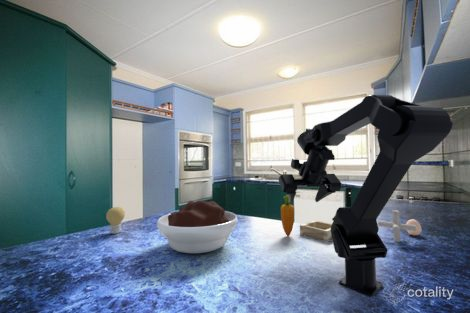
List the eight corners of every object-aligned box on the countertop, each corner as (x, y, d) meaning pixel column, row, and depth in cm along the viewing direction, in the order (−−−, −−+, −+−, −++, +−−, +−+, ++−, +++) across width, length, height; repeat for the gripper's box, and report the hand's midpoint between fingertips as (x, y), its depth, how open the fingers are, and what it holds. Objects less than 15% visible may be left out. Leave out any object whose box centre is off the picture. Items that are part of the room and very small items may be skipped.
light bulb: (119, 235, 82) (119, 208, 83) (102, 235, 82) (102, 208, 83) (127, 230, 89) (127, 205, 89) (112, 230, 89) (112, 205, 89)
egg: (403, 234, 80) (402, 218, 80) (410, 232, 82) (409, 217, 82) (417, 237, 76) (416, 221, 76) (424, 236, 78) (423, 220, 78)
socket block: (327, 241, 73) (326, 231, 73) (300, 234, 81) (299, 225, 81) (341, 235, 79) (341, 225, 79) (315, 229, 87) (315, 220, 88)
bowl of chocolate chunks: (138, 255, 63) (138, 203, 64) (190, 231, 86) (190, 193, 87) (211, 272, 53) (211, 209, 53) (249, 240, 75) (249, 196, 76)
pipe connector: (417, 248, 66) (415, 215, 66) (378, 242, 72) (376, 211, 72) (415, 239, 74) (414, 210, 74) (380, 234, 80) (379, 207, 80)
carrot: (285, 233, 83) (285, 193, 83) (297, 236, 79) (296, 194, 80) (278, 236, 79) (277, 194, 80) (290, 239, 76) (289, 195, 76)
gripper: (332, 149, 73) (318, 184, 81) (278, 149, 70) (270, 186, 79) (350, 170, 63) (333, 207, 72) (289, 170, 61) (279, 209, 70)
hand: (303, 201), depth 73 cm, fingers open, 9 cm apart
